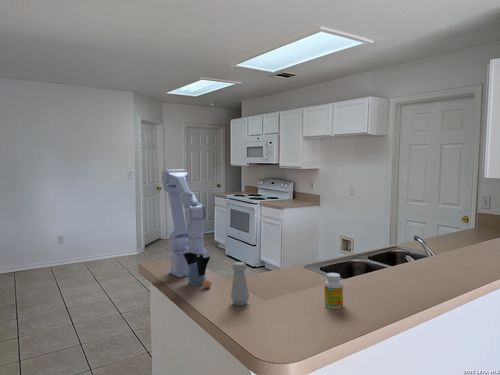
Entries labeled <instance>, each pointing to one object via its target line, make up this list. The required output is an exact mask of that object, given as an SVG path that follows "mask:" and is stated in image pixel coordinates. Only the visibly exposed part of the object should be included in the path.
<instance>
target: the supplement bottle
mask: <svg viewBox="0 0 500 375" xmlns="http://www.w3.org/2000/svg"><path fill="white" fill-rule="evenodd" d="M343 285H344V284H343V281H341V275H340V273H337V272H327V274H326V280H325V282H324V306H325V307H326V308H327V309H332V310H339V309H342V308H343V307H344V301H343V300H344V293H343V292H344V286H343Z"/></svg>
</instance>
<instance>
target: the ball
mask: <svg viewBox="0 0 500 375" xmlns="http://www.w3.org/2000/svg"><path fill="white" fill-rule="evenodd" d="M211 286H212V281H211V280H210V279H209V278H206V279H205V280H204V281H203V286H202V287H203V288H205V289H209V288H210V287H211Z"/></svg>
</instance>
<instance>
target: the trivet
mask: <svg viewBox="0 0 500 375" xmlns="http://www.w3.org/2000/svg"><path fill="white" fill-rule="evenodd" d="M187 285H188V286H189V287H204V286H203V284H200V285H191V284H189V281H188V282H187Z"/></svg>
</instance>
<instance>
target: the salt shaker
mask: <svg viewBox="0 0 500 375" xmlns="http://www.w3.org/2000/svg"><path fill="white" fill-rule="evenodd" d="M246 270H247V264H246V263H245V262H244V261H237V262H234V263H233V264H232V271H233V279H232V286H231V292H230V298H231V300H232V303H233V305H235V306H240V307H241V306H245V304H246V305H247V304H248V300H249V298H250V292H249V288H248V282H247V280H246V275H245V272H246Z"/></svg>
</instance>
